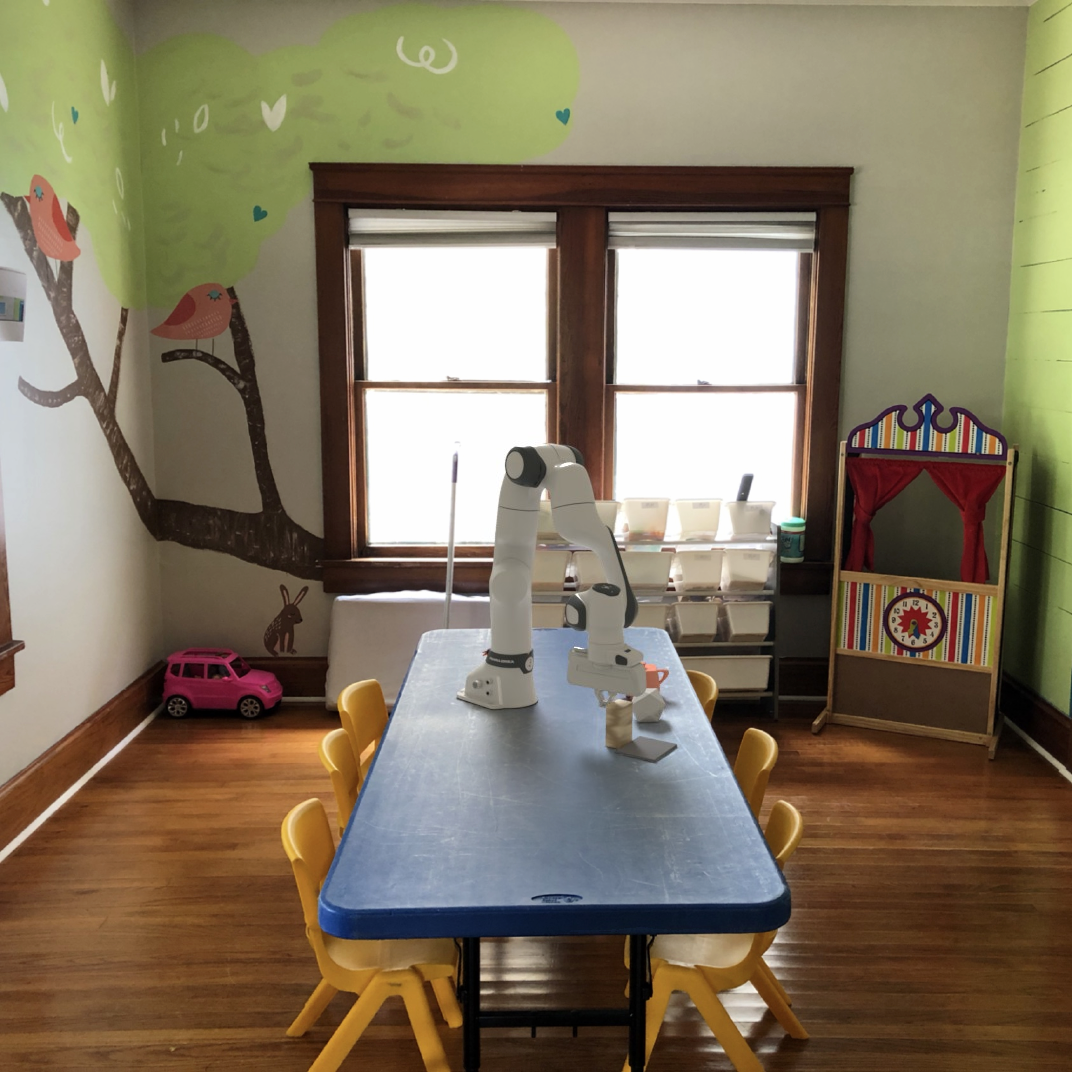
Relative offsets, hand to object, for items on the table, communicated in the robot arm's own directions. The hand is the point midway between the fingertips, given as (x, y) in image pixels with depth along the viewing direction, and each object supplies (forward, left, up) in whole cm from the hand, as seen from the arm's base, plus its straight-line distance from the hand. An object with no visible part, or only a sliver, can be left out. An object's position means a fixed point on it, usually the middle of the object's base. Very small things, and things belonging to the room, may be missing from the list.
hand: (605, 707), depth 253 cm
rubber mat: (+11, 0, -8) cm, 14 cm away
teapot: (-8, +36, -9) cm, 38 cm away
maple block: (+4, 0, -8) cm, 9 cm away
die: (+2, +19, -9) cm, 21 cm away
